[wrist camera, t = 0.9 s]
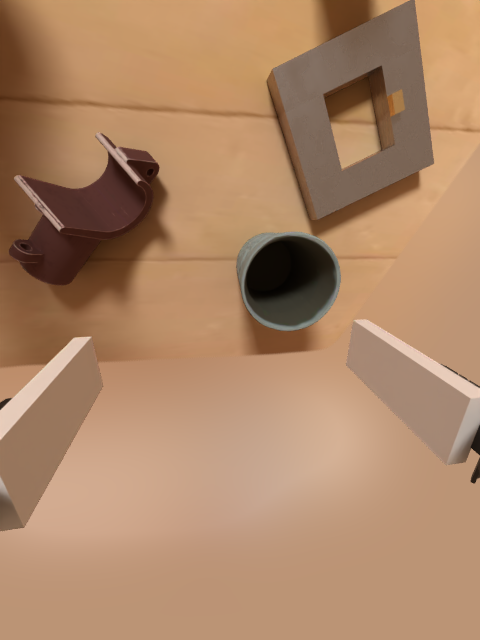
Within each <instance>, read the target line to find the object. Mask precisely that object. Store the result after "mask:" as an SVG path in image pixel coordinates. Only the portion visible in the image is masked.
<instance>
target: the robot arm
mask: <svg viewBox="0 0 480 640" xmlns="http://www.w3.org/2000/svg"><path fill="white" fill-rule="evenodd" d="M346 365H347V367H348V368H350V370H351V371H352V372H354V374H355V375H356V376H357V377H358V378H360V380H361V381H362V382H363V383H364V384H366V386H367V387H368V388H369V389H370V390H372V392H373V393H374V394H375V395H376V396H377V397H378V398H380V399H381V401H382V402H383V403H384V404H385V405H386V406H387V407H388V408H389V409H390V410H391V411H392V412H393V413H394V414H395V415H396V416H398V418H399V419H400V420H402V422H403V423H404V424H405V425H407V427H408V428H409V429H410V430H411V431H412V432H413V433H414V434H415V435H416V436H417V437H419V439H420V440H421V441H422V442H423V443H424V444H425V445H426V446H427V447H428V448H429V449H430V450H431V451H432V452H433V453H434V454H435V455H436V456H437V457H438V458H439V459H440V460H441V461H442V462H443V463H444V464H445V465H450V464H456V463H463V462H466V460H467V457H468V455H469V452H470V450H471V448H472V449H473V450H474V451H476V453H478V454H479V455H480V386H478V385H476V384H475V383H473V382H471V381H468V380H467V379H466V378H465V377H463V376H461V375H458V373H457V372H455V371H453V370H452V369H450V368H448V367H447V366H444V365H442V364H439V363H437V362H436V361H434V360H432V359H431V358H429V357H427V356H426V355H424V354H422V353H421V352H419V351H418V350H416V349H414V348H413V347H411V346H409V345H407V344H406V343H404V342H403V341H401V340H400V339H398V338H396V337H395V336H393V335H391V334H390V333H388V332H386V331H385V330H383V329H382V328H380V327H378V326H377V325H375V324H373V323H371V322H370V321H368V320H367V319H365V320H353V325H352V331H351V338H350V344H349V350H348V356H347V363H346ZM102 387H103V383H102V379H101V375H100V370H99V366H98V361H97V357H96V353H95V348H94V344H93V340H92V337H76V338H73V339H72V340H71V341H70V342H69V343H68V344H67V345H66V346H65V347H64V348H63V349H62V350H61V351H60V352H59V353H58V354H57V355H56V356H55V357H54V358H53V359H52V360H51V361H50V362H49V363H48V364H47V365H46V366H45V367H44V368H43V369H42V370H41V371H40V372H39V373H38V374H37V375H36V376H35V377H34V378H33V379H32V380H31V381H30V382H29V383H28V384H26V386H25V387H24V388H22V389H21V390H20V391H19V392H18V393H17V394H16V395H15V396H14V398H9V399H5V400H4V401H2V402H1V403H0V531H5V530H11V529H18V528H24V527H25V525H26V523H27V522H28V520H29V518H30V516H31V514H32V513H33V511H34V509H35V507H36V505H37V504H38V502H39V500H40V498H41V497H42V494H43V493H44V491H45V489H46V488H47V486H48V484H49V482H50V480H51V479H52V477H53V475H54V473H55V471H56V470H57V468H58V466H59V464H60V463H61V461H62V459H63V457H64V455H65V454H66V452H67V450H68V448H69V446H70V445H71V443H72V441H73V439H74V437H75V435H76V434H77V432H78V430H79V428H80V427H81V425H82V423H83V421H84V420H85V418H86V416H87V414H88V412H89V410H90V409H91V407H92V405H93V403H94V402H95V400H96V398H97V396H98V394H99V393H100V391H101V389H102ZM477 478H480V458H479V461H478V463H477V465H476V468H475V470H474V472H473V474H472V477H471V482H472V483H475V482H476V479H477Z"/></svg>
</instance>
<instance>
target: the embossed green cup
mask: <svg viewBox="0 0 480 640" xmlns="http://www.w3.org/2000/svg"><path fill="white" fill-rule="evenodd" d="M237 274H238V279H239V283H240V287H241V293H242V298H243V301H244V304H245V306H246V308H247V310H248V311H249V313H250V314H251V315H252V316H253V317H254V318H255V319H256V320H257V321H258V322H259V323H261V324H262V325H264V326H266V327H269V328H273V329H276V330H279V331H295V330H300V329H303V328H306V327H308V326H310V325H312V324H314V323H315V322H317V321H318V320H320V319H321V318H322V317H323V316H324V315H325V314H326V313H327V312H328V311H329V309H330V308H331V306H332V305H333V303H334V301H335V299H336V297H337V295H338V292H339V287H340V282H341V274H340V267H339V263H338V260H337V258H336V256H335V254H334V252H333V251H332V249H331V248H330V247H329V246H328V245H327V244H326V243H325V242H324V241H322V240H321V239H319V238H317V237H315V236H313V235H310V234H307V233H303V232H285V233H262V234H259V235H256V236H254V237H252V238H251V239H249V240H248V241H247V242H246V243H245V244H244V246H243V247H242V249H241V250H240V253H239V255H238V259H237Z"/></svg>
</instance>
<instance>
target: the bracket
mask: <svg viewBox="0 0 480 640" xmlns="http://www.w3.org/2000/svg"><path fill="white" fill-rule="evenodd" d="M95 136H96V138H97V139H98V140H99V141H100V143H101V144H102V145H103V146H104V147H105V148H106V149H107V151H108V165H107V167H106V170H105V172H104V173H103V175H102V176H101V177H100V178H99V179H98V180H97V181H96V182H94V183H93V184H91V185H89V186H87V187H84V188H79V189H70V188H65V187H62V186H58V185H54V184H51V183H47V182H43V181H40V180H36V179H32V178H29V177H25V176H21V175H17V176H15V177H14V180H15V181H16V182H17V184H18V185H19V186H20V187H21V188H22V189H23V191H24V192H25V193H26V194H27V195H28V196H29V197H30V199H31V200H32V201H33V202H34V203H35V208H36V209H37V210H38V211H39V212H40V213H41V214H43V216H42V217H41V219H40V221H39V222H38V224H37V226H36V227H35V229H34V231H33V233H32V234H31V236H30V238H29V239H28V240H21V239H18V240H15V241H14V242H13V244H12V246H11V248H10V249H9V254H10V256H11V257H13V258H14V259H16V260H17V261H19V262H20V264H21V266H22V267H23V268H24V270H25V271H26V272H28V273H29V274H30V275H32V276H33V277H35V278H36V279H38V280H40V281H43V282H45V283H48V284H52V285H66V284H69V283H70V282H71V281H72V280H73V279H74V277H75V276H76V275H77V273H78V272H79V270H80V269H81V268H82V266H83V265H84V263H85V262H86V261H87V259H88V258H89V257H90V255H91V254H92V252H93V251H94V250H95V248H96V247H97V246H98V244H99V243H100V241H101V240H106V239H113V238H116V237H119V236H121V235H124V234H125V233H127V232H129V231H130V230H132V229H133V228H135V227H136V226H137V225H138V224H139V223H140V222H141V221H142V220H143V219H144V218H145V216H146V215H147V213H148V212H149V210H150V208H151V205H152V202H153V191H152V188H151V187H150V184H151V182H152V181H153V180H154V178H155V177H156V175H157V174H158V172H159V165H158V163H157V162H156V161H155V160H154V159H153V158H152V156H151V155H150V154H149V153H148V152H146V151H141V150H135V149H129V148H123V147H116V146H115V145H114V144H113V143H112V142H111V141H110V139H109V138H107V137H106V136H105V135H103V134H102V133H99V132H98V133H96V135H95Z"/></svg>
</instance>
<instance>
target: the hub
mask: <svg viewBox="0 0 480 640" xmlns="http://www.w3.org/2000/svg"><path fill="white" fill-rule="evenodd" d="M366 77H368V78H369V83H370V88H371V94H372V99H373V105H374V110H375V115H376V121H377V126H378V131H379V137H380V142H381V147H382V150H381V151H379V152H377V153H375V154H372V155H370V156H368V157H366V158H364V159H362V160H360V161H358V162H356V163H354V164H352V165H350V166H348V167H346V168H344V169H341V165H340V161H339V157H338V153H337V149H336V145H335V141H334V137H333V133H332V129H331V125H330V121H329V117H328V112H327V108H326V104H325V100H324V98H325V97H327V96H329V95H331V94H333V93H335V92H338V91H340V90H342V89H344V88H346V87H348V86H350V85H352V84H354V83H356V82H358V81H360V80H362V79H364V78H366ZM267 83H268V86H269V90H270V93H271V96H272V99H273V102H274V106H275V109H276V112H277V115H278V118H279V122H280V125H281V128H282V131H283V135H284V138H285V141H286V144H287V147H288V151H289V154H290V157H291V160H292V163H293V167H294V170H295V173H296V176H297V179H298V183H299V186H300V189H301V192H302V195H303V199H304V202H305V205H306V208H307V211H308V215H309V218H310V220H318V219H320V218H322V217H324V216H326V215H328V214H330V213H333V212H335V211H337V210H339V209H341V208H343V207H345V206H347V205H349V204H351V203H353V202H355V201H357V200H360V199H362V198H364V197H366V196H368V195H370V194H372V193H374V192H376V191H378V190H380V189H382V188H384V187H386V186H389V185H391V184H393V183H395V182H397V181H399V180H401V179H403V178H405V177H407V176H409V175H411V174H413V173H416V172H418V171H420V170H422V169H424V168H426V167H428V166H430V165H432V164H434V159H433V151H432V142H431V134H430V126H429V117H428V109H427V100H426V92H425V83H424V75H423V66H422V58H421V50H420V41H419V33H418V24H417V16H416V7H415V0H410V1H408V2H406V3H404V4H402V5H400V6H398V7H396V8H394V9H392V10H390V11H388V12H386V13H384V14H382V15H380V16H378V17H376V18H374V19H372V20H370V21H368V22H366V23H364V24H362V25H360V26H358V27H356V28H354V29H352V30H350V31H348V32H346V33H344V34H342V35H340V36H338V37H336V38H334V39H332V40H330V41H328V42H326V43H324V44H322V45H320V46H318V47H316V48H314V49H312V50H310V51H308V52H306V53H304V54H302V55H300V56H298V57H296V58H294V59H292V60H290V61H288V62H285V63H283V64H281V65H279V66H277V67H275V68H273V69H272V71H271V73H270V75H269V77H268V79H267Z"/></svg>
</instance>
